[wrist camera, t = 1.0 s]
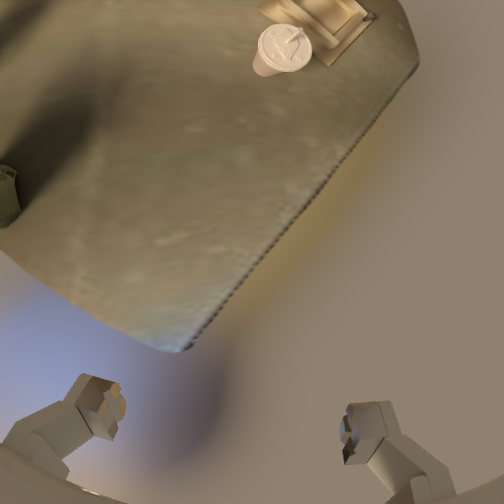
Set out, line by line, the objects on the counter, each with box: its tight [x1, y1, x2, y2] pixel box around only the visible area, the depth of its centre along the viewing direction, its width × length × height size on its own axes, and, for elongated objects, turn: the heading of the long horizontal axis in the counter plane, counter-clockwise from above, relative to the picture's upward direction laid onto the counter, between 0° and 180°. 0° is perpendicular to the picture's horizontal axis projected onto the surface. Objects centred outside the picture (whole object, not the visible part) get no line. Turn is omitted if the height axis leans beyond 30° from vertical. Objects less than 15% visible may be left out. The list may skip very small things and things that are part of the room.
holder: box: [258, 0, 376, 67], centre depth 33 cm, size 14×14×4 cm
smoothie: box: [253, 23, 312, 77], centre depth 30 cm, size 6×6×14 cm
